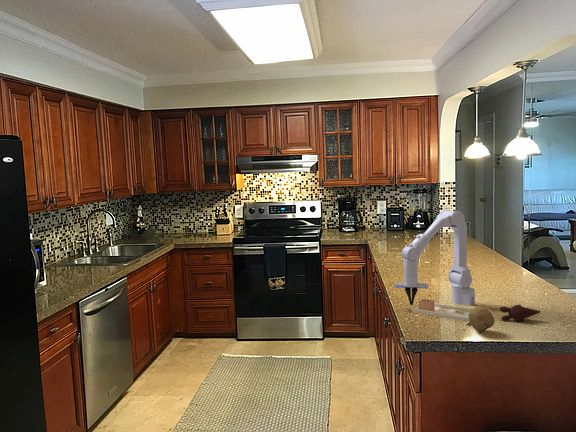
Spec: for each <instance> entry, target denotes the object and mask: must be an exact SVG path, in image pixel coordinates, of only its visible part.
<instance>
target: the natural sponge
mask: <svg viewBox="0 0 576 432" xmlns="http://www.w3.org/2000/svg"><path fill="white" fill-rule="evenodd" d="M471 309H472V310H471V311H470V312H469V320H470V323H471V325H472V326H471V327H472V329H474V330H475V332H478V333H483V332H485V331H487V330H488V329H491V328H492V327H493V326H494V325H495V318H494V315H493V313H492V311H490V309H488V308H487V307H485V306H482V305H480V306H475V307H472V308H471Z"/></svg>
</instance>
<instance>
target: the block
mask: <svg viewBox="0 0 576 432" xmlns="http://www.w3.org/2000/svg"><path fill="white" fill-rule="evenodd" d="M435 303H436V302H435V300H432V299H431V300H430V299H425V298H424V299H423V298H422V299H421V300H419V301H418V303H417V304H418V308H419V309H422V310H428V311H435Z"/></svg>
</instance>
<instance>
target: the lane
mask: <svg viewBox="0 0 576 432" xmlns="http://www.w3.org/2000/svg"><path fill="white" fill-rule="evenodd" d="M440 309H444V311H443V310H440ZM445 309H446V311H445ZM472 309H473V308H470V307H464V306H458V305H449V304H443V303H438V302H437V303H436V302H435V311H428V310H422V309H419V307H418V308H417V307H416V308H415V307H412V308H411V313H413V314H414V313H415V314H421V315H426V316H432V317H438V318H445V319H450V320H456V321H462V322H467V323H466V324H465V326H470V327H472V325H471V323H470V320H469V312H470V311H471V310H472ZM457 311H459V312H462V313H457Z"/></svg>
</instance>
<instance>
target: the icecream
mask: <svg viewBox="0 0 576 432" xmlns="http://www.w3.org/2000/svg"><path fill="white" fill-rule="evenodd" d="M499 310H500V312H501V313H502V312H503V313H505V314H506V313H507V314H506V315H502V316H501V318H500V319H501V321H503V322H506V321H510V320H511V319H512V320H514V321H518V322H524V321H525V319H528V318H530V317H533V316H535V315H538V314H541V310H537V309H533V308H529V307H524V306H522V305H521V304H520V303H519V304H515V305H513V306H511V307H507V306H500V307H499Z"/></svg>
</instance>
